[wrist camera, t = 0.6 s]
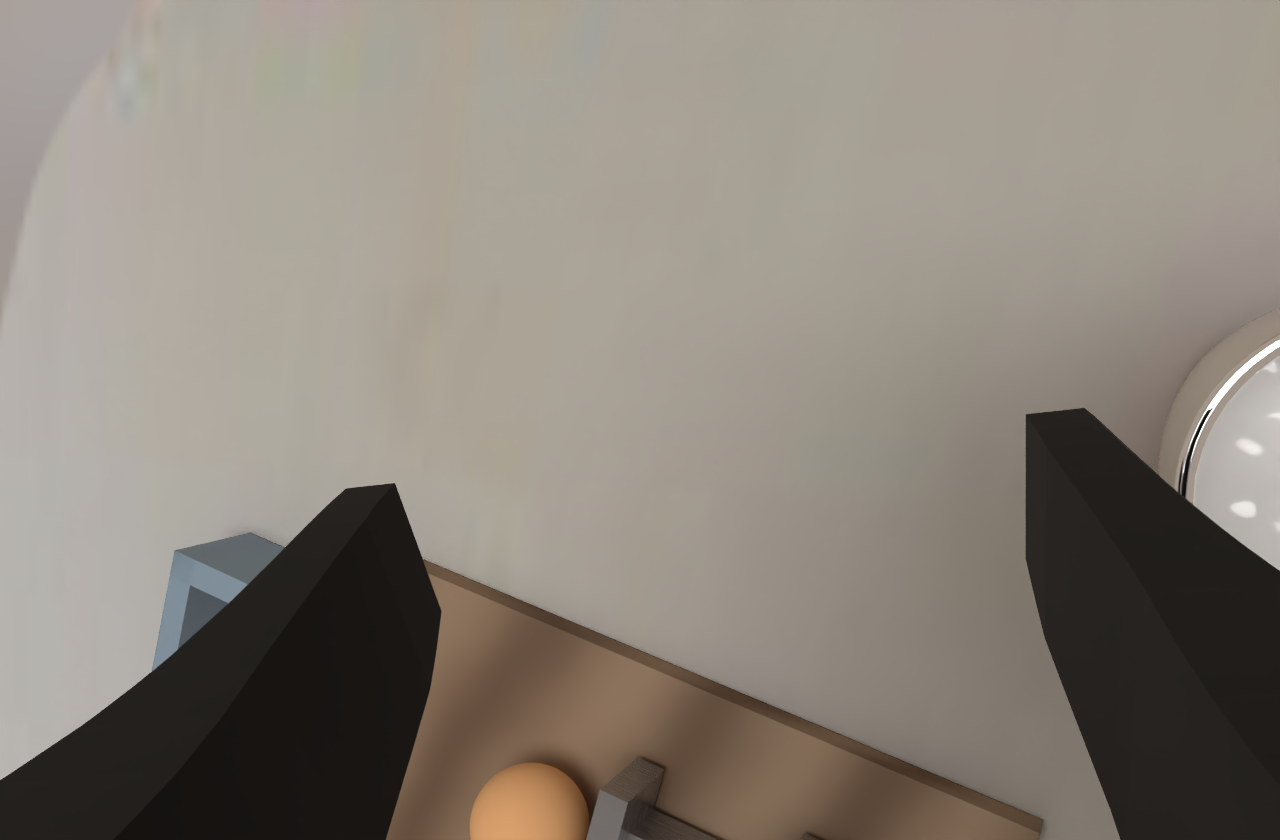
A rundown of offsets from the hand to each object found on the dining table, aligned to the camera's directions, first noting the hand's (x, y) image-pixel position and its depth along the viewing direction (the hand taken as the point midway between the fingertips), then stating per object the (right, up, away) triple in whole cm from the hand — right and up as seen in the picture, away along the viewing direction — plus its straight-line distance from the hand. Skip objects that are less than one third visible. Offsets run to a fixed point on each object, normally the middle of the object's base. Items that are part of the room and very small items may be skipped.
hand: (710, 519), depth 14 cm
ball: (-5, -12, +26) cm, 29 cm away
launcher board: (0, -13, +27) cm, 31 cm away
